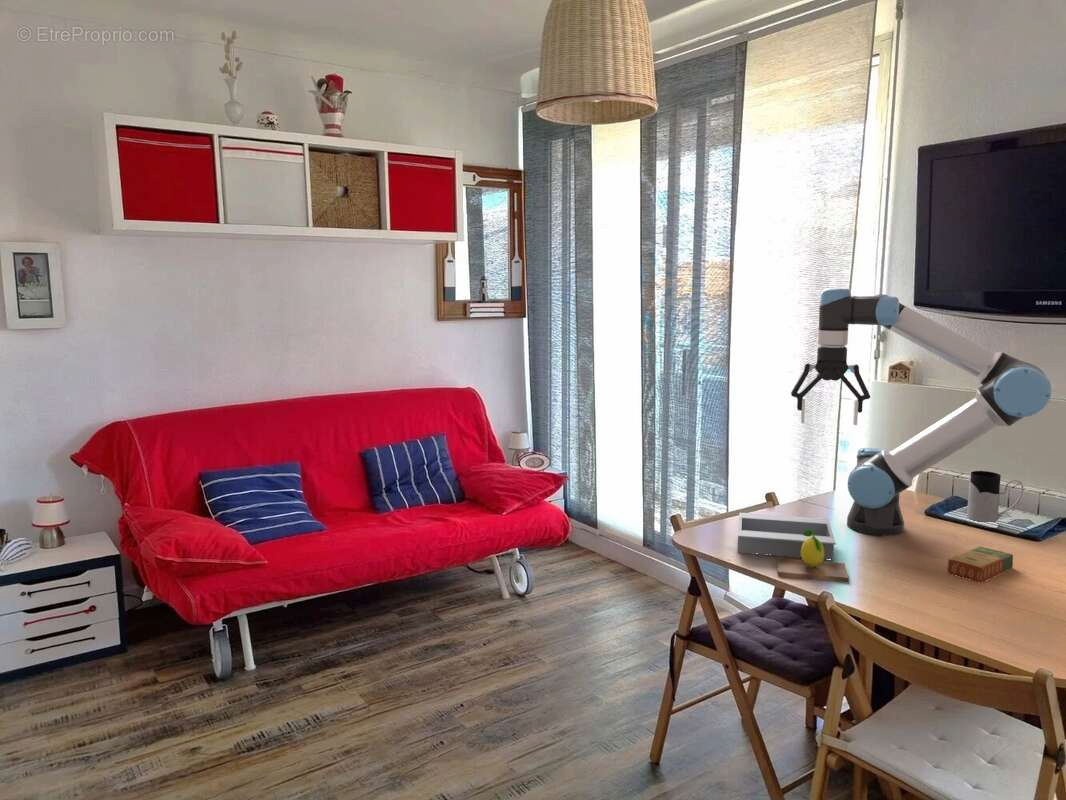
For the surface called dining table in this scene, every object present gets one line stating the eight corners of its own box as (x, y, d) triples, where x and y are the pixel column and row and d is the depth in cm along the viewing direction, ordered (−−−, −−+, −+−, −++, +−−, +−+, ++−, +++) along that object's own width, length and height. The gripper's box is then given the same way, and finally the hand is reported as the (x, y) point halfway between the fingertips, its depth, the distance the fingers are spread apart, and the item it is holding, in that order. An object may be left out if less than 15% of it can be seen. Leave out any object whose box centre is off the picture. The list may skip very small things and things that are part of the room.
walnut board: (844, 567, 198) (844, 563, 198) (848, 582, 189) (848, 577, 188) (776, 562, 202) (777, 557, 202) (778, 576, 193) (778, 571, 193)
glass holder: (961, 518, 237) (965, 469, 235) (1014, 522, 233) (1019, 472, 231) (968, 527, 229) (972, 476, 226) (1024, 531, 225) (1029, 479, 223)
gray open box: (827, 539, 219) (828, 518, 218) (834, 566, 199) (835, 543, 198) (738, 533, 225) (739, 512, 224) (737, 557, 206) (737, 535, 205)
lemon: (801, 560, 200) (803, 522, 198) (826, 565, 197) (828, 526, 195) (795, 569, 194) (797, 529, 192) (820, 573, 191) (823, 533, 189)
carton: (946, 574, 194) (947, 557, 194) (978, 560, 204) (979, 544, 203) (982, 584, 188) (983, 567, 187) (1013, 569, 197) (1014, 553, 196)
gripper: (880, 345, 216) (875, 422, 219) (783, 344, 222) (780, 418, 226) (884, 348, 209) (879, 427, 212) (784, 346, 215) (781, 423, 218)
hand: (828, 423), depth 219 cm, fingers open, 13 cm apart
